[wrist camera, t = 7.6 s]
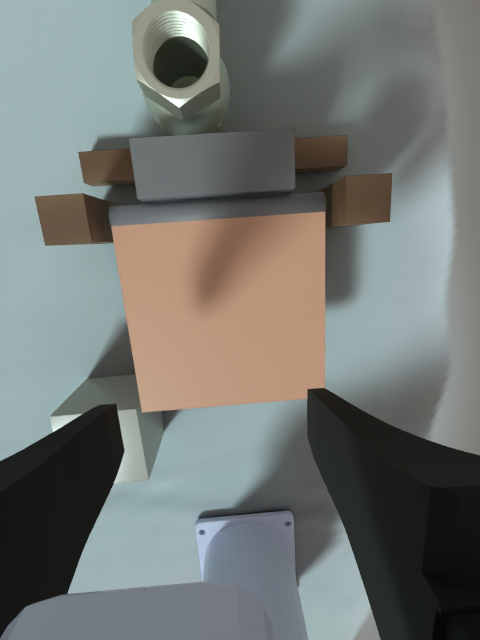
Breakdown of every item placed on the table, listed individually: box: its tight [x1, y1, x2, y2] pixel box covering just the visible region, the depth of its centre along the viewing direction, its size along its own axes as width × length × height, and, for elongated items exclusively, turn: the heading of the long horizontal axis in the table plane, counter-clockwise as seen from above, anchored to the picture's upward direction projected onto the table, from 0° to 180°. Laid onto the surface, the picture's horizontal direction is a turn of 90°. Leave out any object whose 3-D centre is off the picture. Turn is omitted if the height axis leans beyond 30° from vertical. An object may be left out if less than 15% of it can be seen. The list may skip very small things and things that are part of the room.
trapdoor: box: [109, 128, 326, 412], centre depth 16 cm, size 13×10×2 cm
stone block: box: [50, 374, 164, 484], centre depth 20 cm, size 5×5×5 cm
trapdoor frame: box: [35, 135, 392, 246], centre depth 16 cm, size 5×15×6 cm, turn 94°
